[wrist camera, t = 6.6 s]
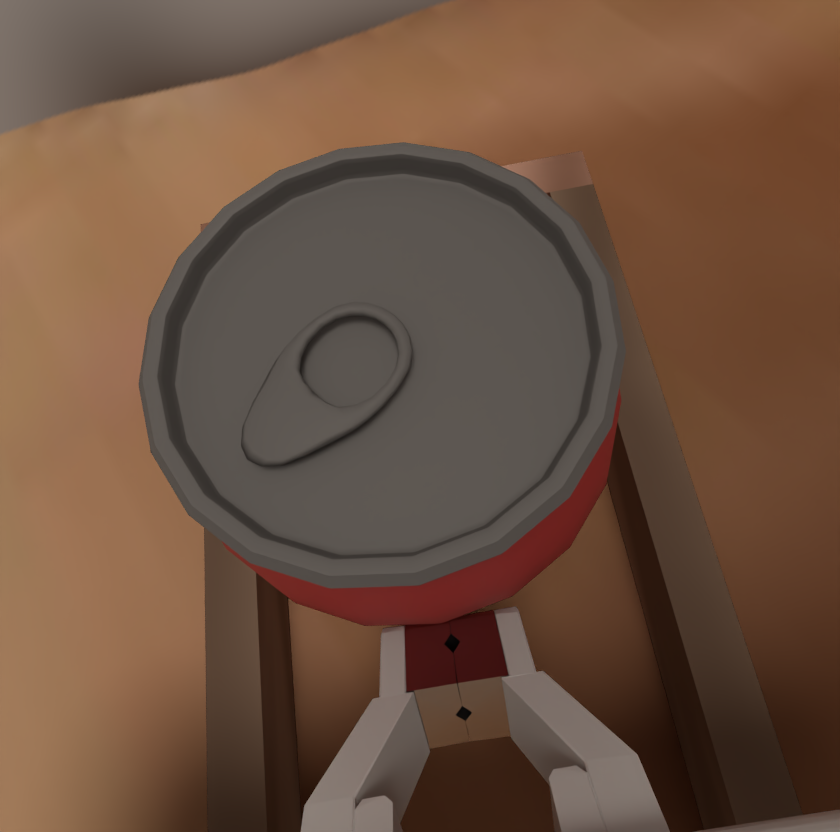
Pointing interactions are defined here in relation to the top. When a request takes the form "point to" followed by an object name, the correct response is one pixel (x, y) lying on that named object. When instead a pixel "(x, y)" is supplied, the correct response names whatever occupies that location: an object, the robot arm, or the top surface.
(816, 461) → the top surface
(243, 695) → the walnut channel
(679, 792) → the top surface
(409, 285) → the beer can
